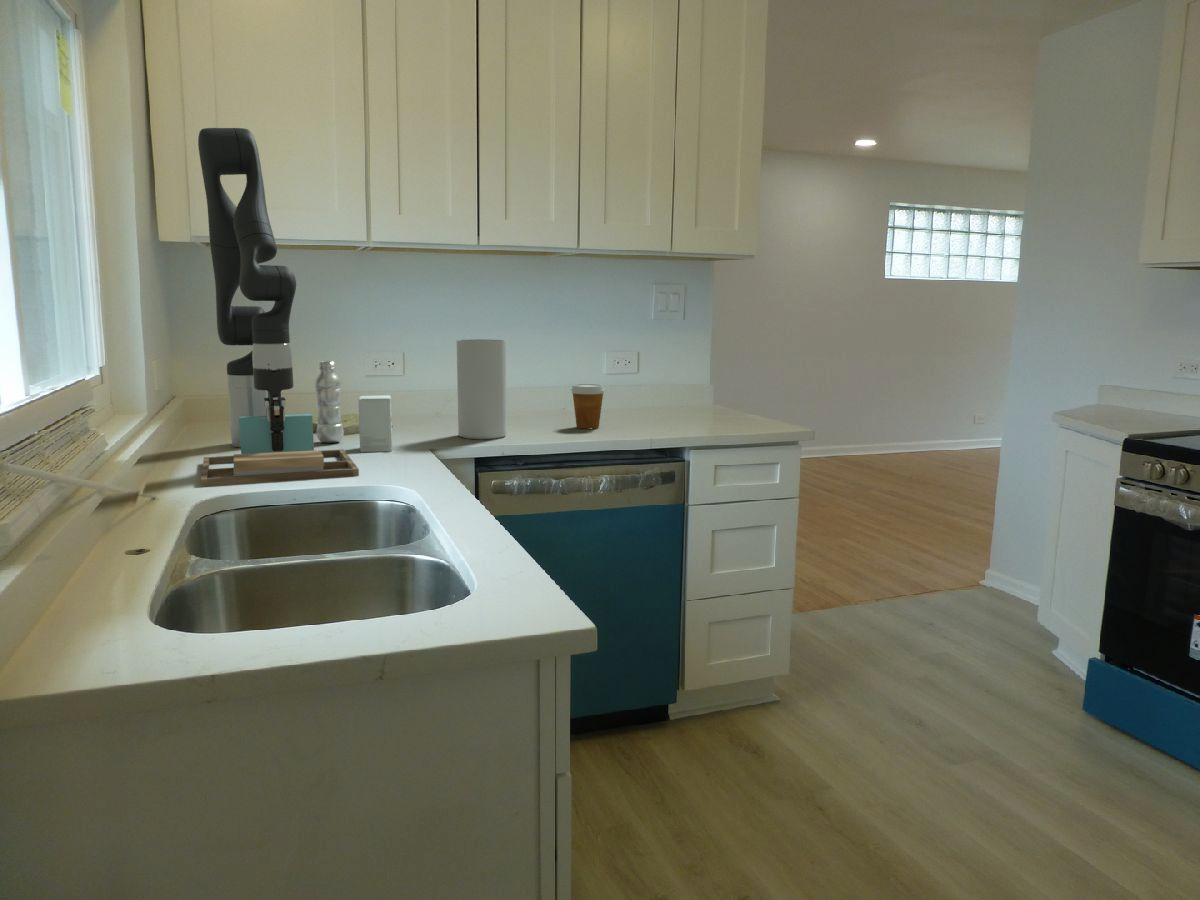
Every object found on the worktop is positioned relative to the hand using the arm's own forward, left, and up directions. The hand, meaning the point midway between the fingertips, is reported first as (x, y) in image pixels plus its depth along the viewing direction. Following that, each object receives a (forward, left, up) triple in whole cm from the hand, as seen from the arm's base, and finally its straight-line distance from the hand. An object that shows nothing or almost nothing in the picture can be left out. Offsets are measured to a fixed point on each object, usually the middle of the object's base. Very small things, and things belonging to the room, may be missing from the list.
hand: (277, 449), depth 177 cm
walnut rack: (+4, 0, -4) cm, 6 cm away
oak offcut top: (+12, 0, -1) cm, 12 cm away
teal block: (0, 0, -2) cm, 2 cm away
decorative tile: (-56, +21, -5) cm, 60 cm away
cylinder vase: (-30, +52, -5) cm, 60 cm away
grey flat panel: (+12, -1, -3) cm, 12 cm away
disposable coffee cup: (-35, +84, -5) cm, 91 cm away
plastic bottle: (-33, +14, -5) cm, 36 cm away
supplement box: (-19, +23, -5) cm, 30 cm away
